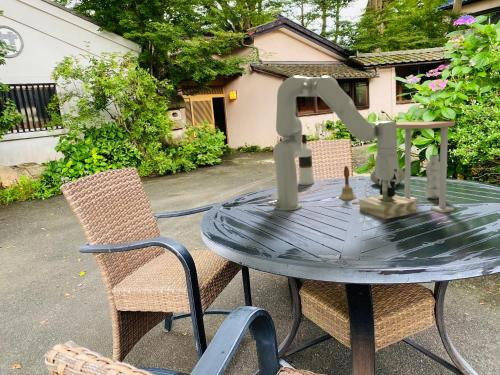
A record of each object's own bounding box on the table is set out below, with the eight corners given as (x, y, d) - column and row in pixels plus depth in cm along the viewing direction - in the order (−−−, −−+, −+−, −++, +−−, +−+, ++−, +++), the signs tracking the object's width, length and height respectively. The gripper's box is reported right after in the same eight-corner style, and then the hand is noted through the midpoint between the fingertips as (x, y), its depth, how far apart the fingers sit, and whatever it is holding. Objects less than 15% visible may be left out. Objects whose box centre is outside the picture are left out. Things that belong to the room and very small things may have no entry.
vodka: (296, 183, 226) (294, 134, 220) (310, 181, 228) (308, 133, 222) (302, 186, 217) (299, 135, 211) (316, 184, 219) (314, 134, 213)
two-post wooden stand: (426, 215, 144) (427, 124, 137) (383, 202, 168) (382, 124, 161) (454, 210, 148) (457, 121, 141) (408, 197, 172) (408, 121, 165)
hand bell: (352, 200, 176) (351, 167, 173) (336, 199, 181) (335, 167, 178) (358, 196, 182) (358, 165, 179) (342, 195, 187) (342, 164, 184)
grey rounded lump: (364, 184, 210) (364, 166, 208) (390, 180, 215) (390, 163, 213) (384, 189, 193) (384, 170, 191) (412, 185, 198) (412, 166, 196)
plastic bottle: (443, 199, 164) (444, 155, 160) (427, 200, 166) (428, 156, 162) (439, 196, 170) (440, 153, 166) (423, 196, 172) (424, 154, 168)
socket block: (383, 219, 144) (383, 207, 143) (359, 210, 159) (359, 199, 158) (416, 212, 148) (416, 201, 147) (390, 204, 163) (390, 193, 162)
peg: (386, 204, 150) (386, 178, 148) (380, 202, 154) (380, 176, 152) (394, 202, 152) (394, 176, 149) (388, 200, 155) (388, 175, 153)
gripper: (366, 151, 155) (367, 193, 159) (393, 154, 140) (393, 200, 143) (381, 149, 157) (382, 190, 161) (409, 152, 142) (409, 198, 145)
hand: (387, 195), depth 152 cm, fingers closed on peg, 4 cm apart
